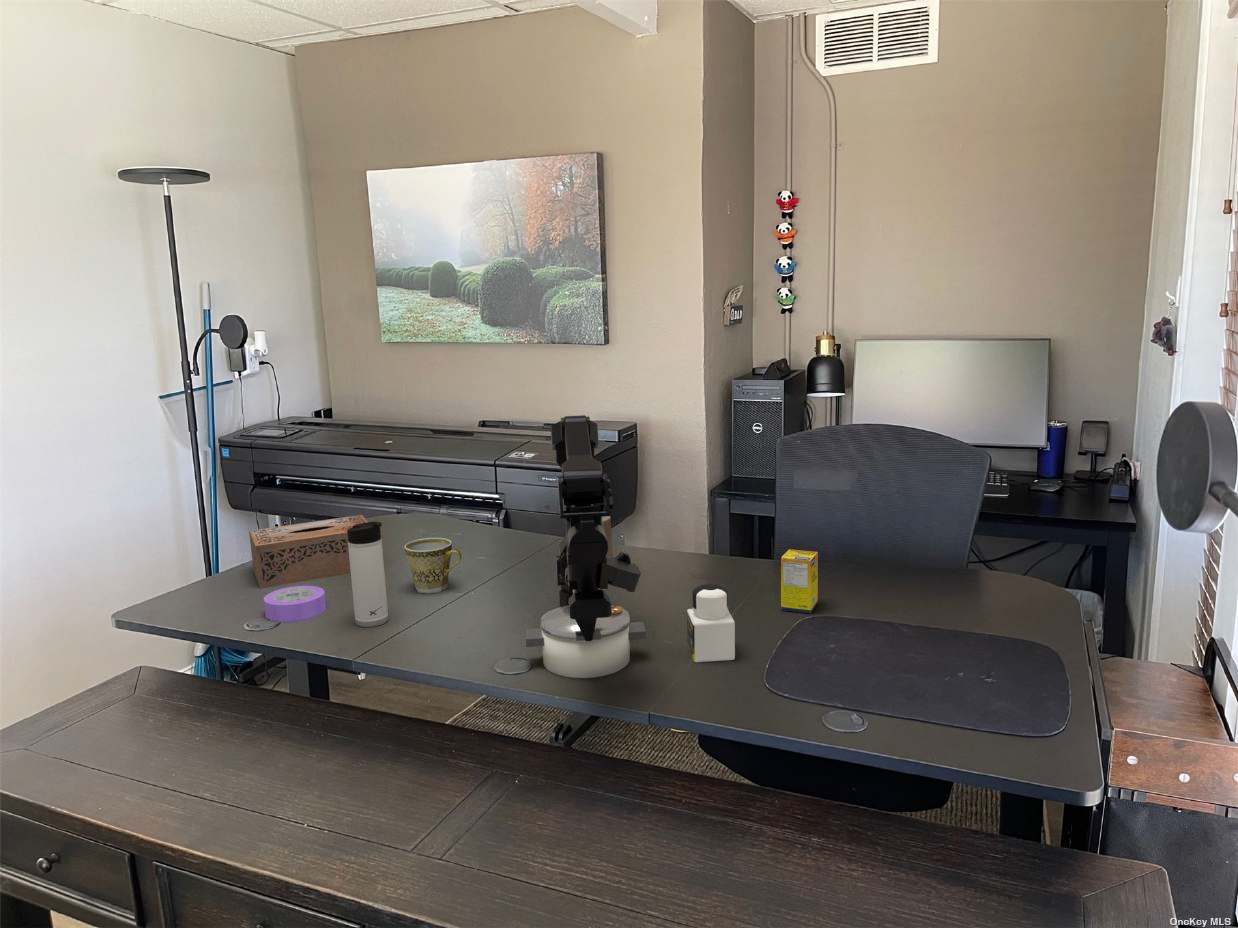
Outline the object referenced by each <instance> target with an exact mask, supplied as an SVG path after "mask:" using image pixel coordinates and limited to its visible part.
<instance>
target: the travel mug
mask: <svg viewBox="0 0 1238 928" xmlns="http://www.w3.org/2000/svg"><path fill="white" fill-rule="evenodd" d="M382 524H383V523H382V522H379V521H368V522H367V523H361V524H357V525H354V526H352V528H350V529H347V535H348V544H349V545H348V548H349V559H350V570H351V573H350V578H351V580H350V581H351V588H352V589H351V590H352V598H353V599H352V600H353V609H354V621H355V624H356V625H357V626H358V627H363V628H372V627H373V628H374V627H377V626H382V625H384V624H386V622H388V621H389V612H388V610H389V609H388V600H387V599H388V598H387V589H386V585H387V584H386V575H385V564H384V552H383V541H382V539H383V538H382V534H381V533H382V532H381V528H382Z"/></svg>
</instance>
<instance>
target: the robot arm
mask: <svg viewBox="0 0 1238 928" xmlns="http://www.w3.org/2000/svg"><path fill="white" fill-rule="evenodd" d="M598 425H599V424H598V423H597V422H594V421H593V420H591V418H590V416H587V415H583V414H582V415H565V416H564V417H560V420H559V421H557V422H556V423H553V424H552V425H550V443H551V445H550V446H551V451H555V462H556V463H557V465H558V467H560V469H561V476H559V475H558V476H557V491H558V505H559V507H558V508H559V518H560V520H562V519H565V531H566V532H565V535H564V536H563V537H562V539H561V541H560V542H559V544H558V549H559V550H558V551H559V554H558V555H556V556H555V560H556V561H555V567H556V570H555V571H556V584H557V586H558V587H559V586H560V590H559V593H558V594H559V606H558V607H557V608H559V607H563V606H568V605H569V613H570V619H574V620H576V622H577V624H578V626H579V628H580V631H581V633H582V635H583V637H584V639H585V641H592V640H593V635H594V630H595V625H596V620H597V618H606V617H610V616H611V605H612V604H611V603H612V602H611V598H610V596H609V594H607V593H606V592H605V591H604V590H608V589H609V585H610V586H612V587H617V588H620V589H623V590H626V591H627V592H629V593H635V592H636V589H637V586H638V584H639V581H640V578H641V575H642V573H641V570H640V567H639V566H637V565H636V563H632V561H631V557H630V554H628V553H626V552H623V551H621V552H619V553H618V554H617V555H616V556H615V557H614V556H613V557H612V559H611V558H607V557H606V555H607V552H608V542H607V539H606V535H605V532H604V529H603V522H602V517H603V516H611V509H612V510H613V509H614V497H613V495H614V494H613V487H612V481H611V480H610V479H609V475H608V474H607V473H604V471H603V467H602V462H601V461H599V460H598V459H595V449H598V448H599V445H600V441H599V430H598V429H599V427H598ZM603 504H604V505H605V506H604V505H603ZM564 507H565V510H564ZM604 507H605V508H604Z"/></svg>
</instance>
